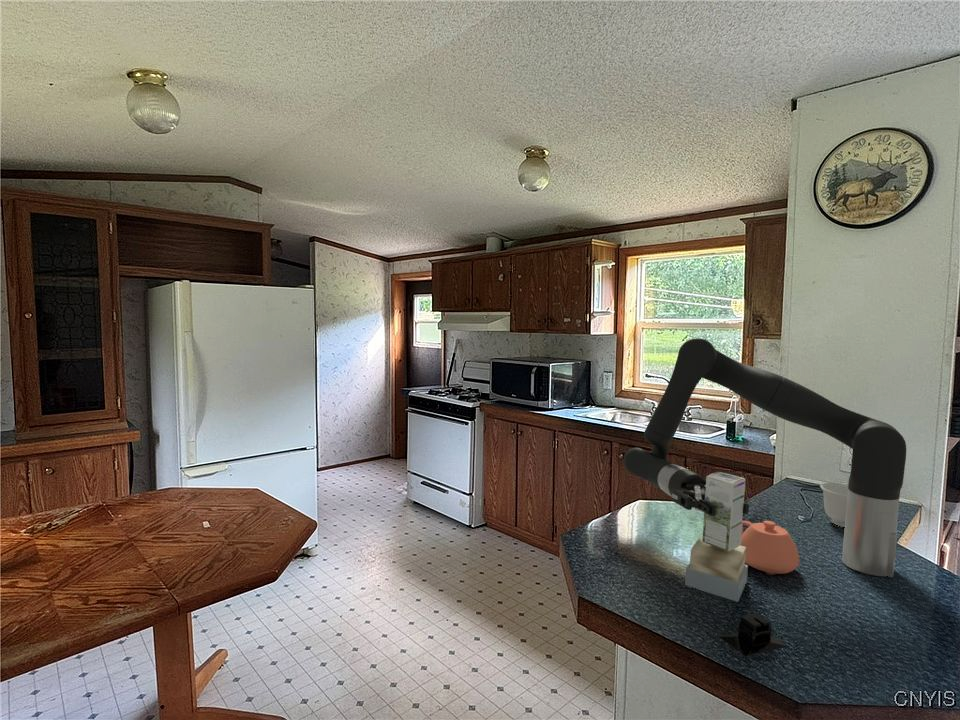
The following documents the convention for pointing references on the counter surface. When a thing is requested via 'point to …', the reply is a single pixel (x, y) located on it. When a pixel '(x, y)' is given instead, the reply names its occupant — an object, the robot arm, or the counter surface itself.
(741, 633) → the black slotted chunky part
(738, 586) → the tower base
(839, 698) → the counter surface
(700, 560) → the tower top
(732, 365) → the robot arm
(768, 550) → the salmon teapot
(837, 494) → the teacup
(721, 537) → the syrup box
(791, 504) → the counter surface
